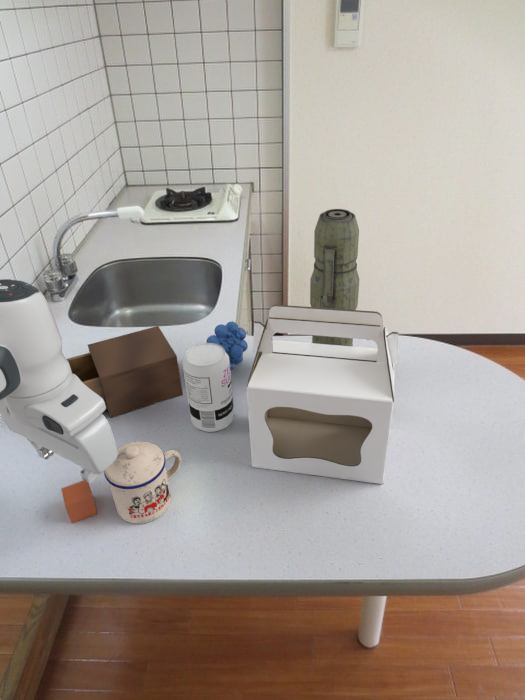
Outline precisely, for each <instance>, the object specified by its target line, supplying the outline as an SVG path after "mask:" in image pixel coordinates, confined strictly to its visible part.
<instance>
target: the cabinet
mask: <svg viewBox="0 0 525 700" xmlns="http://www.w3.org/2000/svg"><path fill="white" fill-rule="evenodd" d="M87 349H88V353H90V354H91V356H92V359H93V362H94V364H95V367H96V370H97V372H98V375H99V378H100V381H101V385H102V388H103V392H104V396H105V399H106V403H107V407H108V409H107V411H108V412H107V413H108V415H109V418H115V417H118V416H121V415H124V414H128V413H130V412H134V411H137V410H140V409H143V408H146V407H149V406H152V405H155V404H159V403H162V402H164V401H168V400H172V399H174V398H177V397H180V396H183V395H184V393H183V386H182V379H181V375H180V367H179V360H178V355H177V354H176V352H175V351H174V349H173V347H172V346H171V344H170V342H169V340H168V339H167V338H166V336H165V335H164V333H163V331H162V330H161V328H160V326H159V325H155V326H152V327H147V328H144V329H142V330H137V331H134V332H130V333H126V334H122V335H117V336H115V337H112V338H108V339H103V340H100V341H97V342H93V343H89V344H87Z"/></svg>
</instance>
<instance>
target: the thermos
mask: <svg viewBox="0 0 525 700" xmlns="http://www.w3.org/2000/svg"><path fill="white" fill-rule="evenodd" d="M313 235H314V238H313V241H314V242H313V243H314V244H313V246H314V247H313V257H314V262H313V271H312V274H311V275H310V276H311V277H310V281H309V283H310V285H309V288H310V289H309V296H310V297H309V305H310V307H317V308H332V309H346V310H357V308H358V306H359V305H358V304H359V291H360V276H359V273H358V263H357V260H358V255H359V254H358V253H359V242H360V241H359V239H360V238H359V236H360V228H359V224H358V220H357V217H356V215H355V213H353V212H352V211H350V210H348V209H343V208H331V209H327V210H325V211H323V212H321V213H320V214H319V216H318V219H317V221H316V224H315V228H314V234H313ZM353 342H354V338H342V337H330V336H317V335H311V343H316V344H328V345H340V346H352V347H353Z"/></svg>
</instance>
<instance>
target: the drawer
mask: <svg viewBox="0 0 525 700" xmlns="http://www.w3.org/2000/svg"><path fill="white" fill-rule="evenodd" d="M66 359H67V361H68V362H69V364H70V368H71V371H72V374H75V375H76V376H77V377H78V378H79V379H80V380H81V381H82V382H83V383H84V384H85V385H86V386H87V387H88V388H89V389H91V390H92V391H93V392H95V393H96V394H97V395H99V396H100V397H101V398H102V399H103V400H104V402H105V405H106V409H105V411H106V410H107V411H108V407H107V403H106V399H105V396H104V392H103V388H102V385H101V381H100V378H99V375H98V372H97V370H96V367H95V364H94V362H93V359H92V356H91V354H90V352H87V353H83V354H80V355H76V356H72V357H68V358H66Z"/></svg>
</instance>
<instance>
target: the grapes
mask: <svg viewBox="0 0 525 700" xmlns="http://www.w3.org/2000/svg"><path fill="white" fill-rule="evenodd" d="M246 337H247V332H246V330H245V329H244V328H243V327H240V326H239V325H238V324H237V322H236V321H233V320H232V321H228V322H227V323H226V324H223V323H221V324H217V325H216V326H215V328H214V334H212V335H209V336H208V337H207V338H206V342H205V343H214V344H218V345H220V346H222V347H223V349H224V350H225V352H226V353H227V355H228V356H229V361H230V372H231V371H233V370H234V368H235V365H240V364H241V363H242V362H243V360H244V356H243V355H244V353H245V352H246V351H247V350H248V342H247V341H246V340H245V338H246Z"/></svg>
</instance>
